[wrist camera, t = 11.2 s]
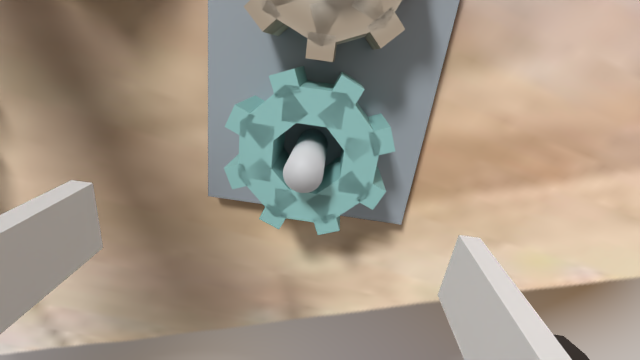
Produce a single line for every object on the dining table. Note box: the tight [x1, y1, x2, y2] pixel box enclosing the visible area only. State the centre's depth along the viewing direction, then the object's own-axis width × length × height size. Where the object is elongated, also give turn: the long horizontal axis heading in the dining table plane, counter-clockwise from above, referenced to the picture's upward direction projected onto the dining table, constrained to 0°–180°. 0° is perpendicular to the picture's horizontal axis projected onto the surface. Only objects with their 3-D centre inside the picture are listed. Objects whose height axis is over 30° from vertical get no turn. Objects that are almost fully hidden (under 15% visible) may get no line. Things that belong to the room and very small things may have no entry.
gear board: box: [208, 0, 460, 224], centre depth 21 cm, size 24×17×8 cm
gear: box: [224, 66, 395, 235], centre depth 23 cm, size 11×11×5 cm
